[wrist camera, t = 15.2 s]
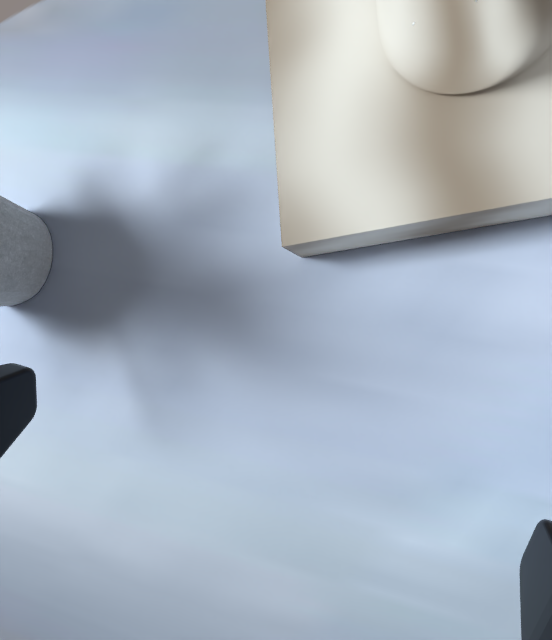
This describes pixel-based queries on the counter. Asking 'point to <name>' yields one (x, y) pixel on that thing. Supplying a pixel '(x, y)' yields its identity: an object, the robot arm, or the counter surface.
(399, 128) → the shelf board
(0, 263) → the house plant
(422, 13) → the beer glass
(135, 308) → the counter surface
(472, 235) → the counter surface
